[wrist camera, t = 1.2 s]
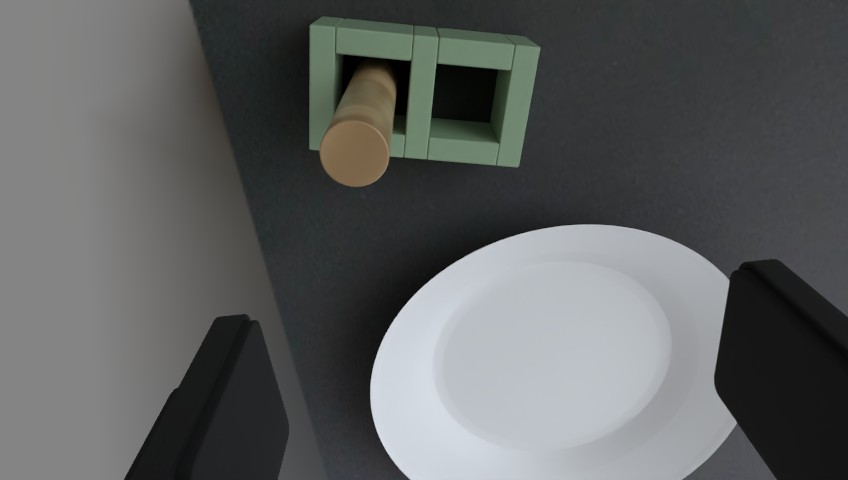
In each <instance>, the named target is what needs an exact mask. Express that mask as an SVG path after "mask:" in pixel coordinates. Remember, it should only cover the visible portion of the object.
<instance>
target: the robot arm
mask: <svg viewBox="0 0 848 480" xmlns="http://www.w3.org/2000/svg"><path fill="white" fill-rule="evenodd" d="M714 385H715V389H716V392H717V394H718V396H719V397H720V399H721V400H722V402H723V403H724V405H725V406H726V407H727V409H728V410H729V412H730V413H731V415H732V416H733V417H734V419H735V420H736V422H737V423H738V425H739V426H740V427H741V429H742V430H743V432H744V433H745V435H746V436H747V437H748V439H749V440H750V442H751V443H752V445H753V446H754V447H755V449H756V450H757V452H758V453H759V455H760V456H761V457H762V459H763V460H764V462H765V463H766V465H767V466H768V467H769V469H770V470H771V472H772V473H773V475H774V476H775V477H776V479H777V480H848V317H847V316H846V315H844V314H843V313H842V312H841V311H840V310H838V309H837V308H836V307H835V306H834V305H832V304H831V303H830V302H829V301H827V300H826V299H825V298H824V297H823V296H821V295H820V294H819V293H818V292H817V291H815V290H814V289H813V288H812V287H811V286H809V285H808V284H807V283H806V282H805V281H803V280H802V279H801V278H800V277H799V276H797V275H796V274H795V273H794V272H792V271H791V270H790V269H789V268H788V267H786V266H785V265H784V264H783V263H782V262H780V261H778V260H777V259H770V260H760V261H751V262H744V263H742V264H741V266H740V267H739V270H735V271H734V272H733V273H732V274H731V277H730V282H729V288H728V294H727V300H726V306H725V312H724V318H723V324H722V331H721V337H720V343H719V349H718V355H717V361H716V367H715V373H714ZM288 435H289V424H288V418H287V415H286V411H285V408H284V404H283V401H282V398H281V394H280V391H279V388H278V384H277V381H276V378H275V374H274V371H273V367H272V364H271V360H270V357H269V353H268V350H267V347H266V344H265V340H264V337H263V333H262V330H261V326H260V324H259V322H258V321H257V320H253V321H251V320H250V318H249V316H248V315H246V314H241V315H231V316H222V317H217V318H216V319H215V320H214V322H213V324H212V326H211V328H210V329H209V331H208V333H207V335H206V337H205V339H204V341H203V342H202V345H201V346H200V348H199V350H198V352H197V354H196V355H195V357H194V359H193V361H192V363H191V365H190V367H189V369H188V370H187V372H186V374H185V376H184V378H183V380H182V382H181V384H180V385H179V387H178V388H176V389H174V390H173V392H172V393H171V394H170V396H169V398H168V399H167V401H166V403H165V405H164V407H163V409H162V410H161V412H160V414H159V416H158V418H157V420H156V422H155V423H154V425H153V427H152V429H151V431H150V433H149V435H148V436H147V438H146V440H145V442H144V444H143V446H142V447H141V449H140V451H139V453H138V455H137V457H136V458H135V460H134V462H133V464H132V466H131V468H130V469H129V472H128V473H127V475H126V477H125V479H124V480H278V476H279V472H280V468H281V464H282V460H283V456H284V452H285V448H286V444H287V440H288Z"/></svg>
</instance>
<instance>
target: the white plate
mask: <svg viewBox="0 0 848 480" xmlns="http://www.w3.org/2000/svg"><path fill="white" fill-rule="evenodd" d="M729 282H730V281H729V280H728V278H727V277H726V276H725V275H724V274H723V273H722V272H721V271H720V270H719V269H717V268H716V267H715V266H714V265H713V264H712V263H710V262H709V261H708V260H706V259H705V258H704V257H702V256H701V255H699V254H698V253H696V252H694V251H693V250H691V249H689V248H687V247H685V246H683V245H681V244H679V243H677V242H675V241H672V240H670V239H668V238H665V237H662V236H659V235H656V234H653V233H649V232H646V231H641V230H637V229H632V228H626V227H619V226H610V225H568V226H558V227H550V228H545V229H539V230H535V231H530V232H526V233H522V234H518V235H515V236H512V237H509V238H506V239H503V240H500V241H497V242H495V243H492V244H490V245H487V246H485V247H483V248H481V249H479V250H477V251H475V252H473V253H471V254H469V255H467V256H465V257H463V258H462V259H460V260H458V261H456V262H455V263H453V264H452V265H450V266H449V267H447V268H446V269H444V270H443V271H441V272H440V273H439V274H437V275H436V276H435V277H434V278H432V279H431V280H430V281H429V282H428V283H426V284H425V285H424V286H423V287H422V288H421V289H420V290H419V291H418V292H417V293H416V294H415V295H414V296H413V297H412V298H411V299H410V300H409V301H408V302H407V304H406V305H405V306H404V307H403V308H402V310H401V311H400V312H399V314H398V315H397V316H396V318H395V319H394V321H393V322H392V324H391V326H390V327H389V329H388V331H387V332H386V334H385V336H384V338H383V340H382V343H381V345H380V347H379V350H378V353H377V356H376V359H375V362H374V366H373V371H372V377H371V387H370V400H371V410H372V416H373V420H374V424H375V427H376V430H377V433H378V435H379V438H380V440H381V442H382V444H383V446H384V448H385V449H386V451H387V453H388V454H389V456H390V457H391V459H392V460H393V461H394V463H395V464H396V465H397V466H398V468H399V469H400V470H401V471H402V472H403V473H404V474H405V475H406V476H407V477H408V478H409V479H410V480H682V479H683V478H685V477H686V476H687V475H689V474H690V473H691V472H693V471H694V470H695V469H696V468H698V467H699V466H700V465H701V464H702V463H703V462H705V461H706V460H707V459H708V458H709V457H710V456H711V455H712V454H713V453H714V452H715V451H716V450H717V449H718V447H719V446H720V445H721V444H722V443H723V442H724V440H725V439H726V438H727V436H728V435H729V434H730V432H731V431H732V430H733V428H734V427H735V425H736V423H737V422H736V420H735V419H734V417H733V416H732V415H731V413H730V412H729V410H728V409H727V407H726V406H725V405H724V403H723V402H722V400H721V399H720V397H719V396H718V394H717V392H716V389H715V385H714V373H715V367H716V361H717V355H718V349H719V343H720V337H721V331H722V324H723V318H724V312H725V306H726V300H727V294H728V288H729Z"/></svg>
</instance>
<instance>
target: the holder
mask: <svg viewBox="0 0 848 480" xmlns="http://www.w3.org/2000/svg"><path fill="white" fill-rule="evenodd" d="M539 52H540V47H539V46H537V45H536V44H534V43H533V42H532V41H530V40H529V39H528V38H526V37H525V36H517V35H507V34H504V35H502V34H496V33H486V32H476V31H466V30H456V29H446V28H434V27H425V26H412V25H405V24H395V23H385V22H375V21H365V20H355V19H345V20H344V19H343V18H335V17H325V16H323V17H321V18H319V19H318V20H316V21H315V22H314V23H312V24H311V25H310V35H309V149H310V150H320V144H321V141H322V138H323V136H324V134H325V132H326V130H327V128H328V126H329V124H330V122H331V120H332V118H333V115H334V113H335V111H336V109H337V107H338V105H339V103H340V101H341V99H342V90H343V56H344V55H353V56H364V57H374V58H385V59H395V60H406V61H410V72H409V84H408V97H407V109H406V116H405V115H396V114H394V120H393V129H392V138H391V147H390V157H403V156H404V157H405V158H415V159H426V158H427V159H428V160H438V161H449V162H461V163H473V164H485V165H497V166H507V167H519V163H520V157H521V151H522V146H523V140H524V135H525V129H526V124H527V118H528V113H529V107H530V102H531V96H532V91H533V85H534V79H535V74H536V68H537V63H538V57H539ZM436 63H438V64H447V65H458V66H468V67H479V68H489V69H498V73H497V79H496V86H495V93H494V99H493V106H492V113H491V119H490V123H485V122H474V121H463V120H452V119H440V118H431V112H432V102H433V92H434V82H435V73H436Z"/></svg>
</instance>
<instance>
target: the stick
mask: <svg viewBox="0 0 848 480" xmlns="http://www.w3.org/2000/svg"><path fill="white" fill-rule="evenodd" d="M397 84H398V77H397V73H396V70H395V69H394V67H393V66H392V65H391V64H390V63H389V62H388V61H386V60H385V59H382V58H374V57H372V58H368V59H366V60H364V61H362V62H361V63H360V64H359V65H358V67H357V69H356V70H355V72H354V75H353V77H352V79H351V81H350V83H349V85H348V87H347V89H346V91H345V93H344V95H343V97H342V99H341V101H340V103H339V105H338V107H337V109H336V111H335V113H334V115H333V118H332V120H331V122H330V124H329V126H328V128H327V130H326V132H325V134H324V136H323V138H322V141H321V144H320V150H319V153H320V160H321V163H322V165H323V167H324V169H325V171H326V172H327V173H328V174H329V176H331V177H332V178H333V179H334V180H336V181H337V182H339V183H341V184H343V185H347V186H352V187H360V186H366V185H369V184H371V183H373V182H375V181H376V180H378V179H379V178H380V177H381V176H382V175H383V173H384V172H385V170H386V168H387V166H388V162H389V156H390V147H391V138H392V129H393V120H394V111H395V102H396V93H397Z"/></svg>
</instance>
